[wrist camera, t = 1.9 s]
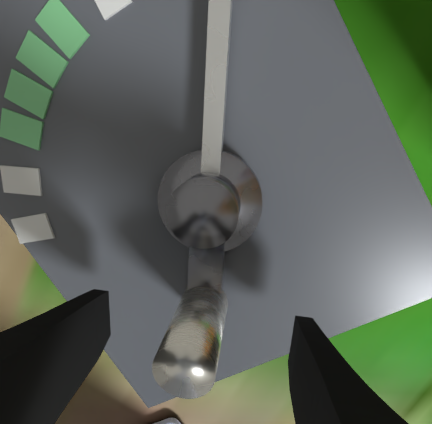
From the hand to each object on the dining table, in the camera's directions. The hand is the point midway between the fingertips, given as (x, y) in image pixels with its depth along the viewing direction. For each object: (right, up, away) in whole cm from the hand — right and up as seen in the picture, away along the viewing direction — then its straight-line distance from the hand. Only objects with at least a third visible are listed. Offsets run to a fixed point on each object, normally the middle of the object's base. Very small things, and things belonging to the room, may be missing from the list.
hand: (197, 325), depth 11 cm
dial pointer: (+1, +6, 0) cm, 6 cm away
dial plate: (-1, +6, +3) cm, 7 cm away
